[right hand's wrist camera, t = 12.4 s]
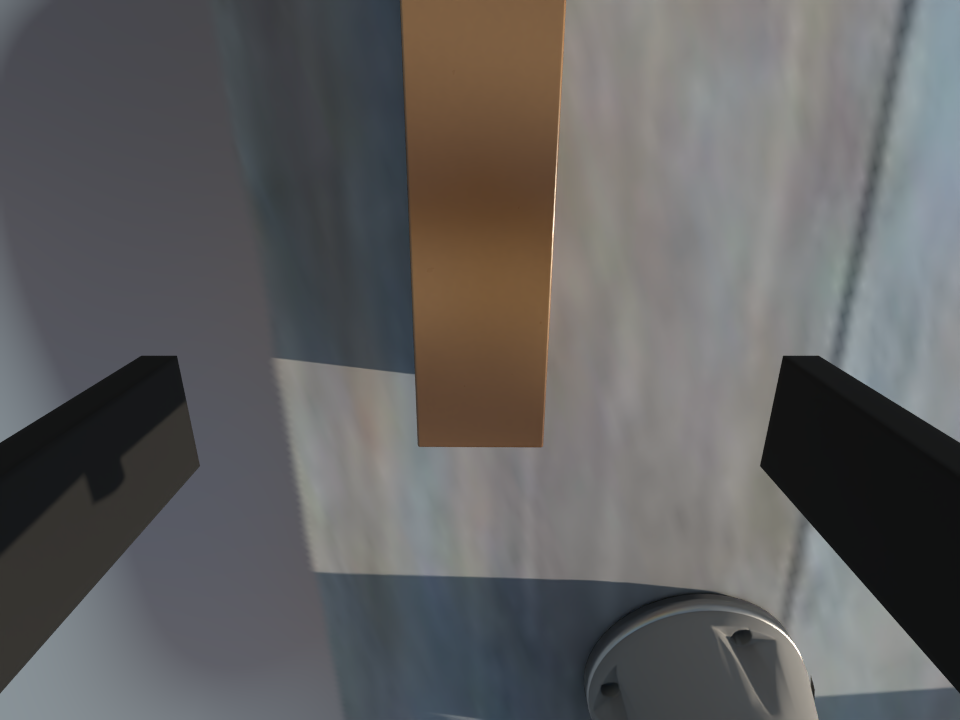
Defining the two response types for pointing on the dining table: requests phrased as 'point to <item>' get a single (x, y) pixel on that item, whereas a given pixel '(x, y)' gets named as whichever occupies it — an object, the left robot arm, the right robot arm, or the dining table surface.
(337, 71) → the dining table surface
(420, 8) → the post
